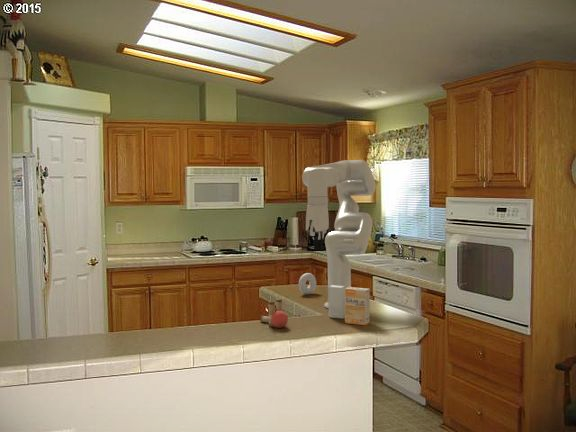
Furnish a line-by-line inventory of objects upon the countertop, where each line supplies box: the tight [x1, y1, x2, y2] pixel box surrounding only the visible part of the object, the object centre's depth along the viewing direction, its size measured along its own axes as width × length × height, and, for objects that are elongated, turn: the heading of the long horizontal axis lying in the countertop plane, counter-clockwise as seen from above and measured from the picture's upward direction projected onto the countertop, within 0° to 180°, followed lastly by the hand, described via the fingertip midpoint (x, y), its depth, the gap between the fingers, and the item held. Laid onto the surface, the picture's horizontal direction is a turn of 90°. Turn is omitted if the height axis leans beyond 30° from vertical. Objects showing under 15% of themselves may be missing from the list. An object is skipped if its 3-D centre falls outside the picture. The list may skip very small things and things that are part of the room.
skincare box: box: [327, 285, 346, 320], centre depth 229 cm, size 6×4×12 cm
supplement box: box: [344, 286, 371, 326], centre depth 219 cm, size 8×5×13 cm, turn 62°
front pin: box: [259, 315, 269, 324], centre depth 222 cm, size 2×2×9 cm
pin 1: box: [267, 300, 276, 327], centre depth 218 cm, size 2×2×9 cm
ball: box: [271, 310, 289, 329], centre depth 215 cm, size 6×6×6 cm
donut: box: [298, 272, 317, 295], centre depth 275 cm, size 10×4×10 cm, turn 130°
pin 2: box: [275, 298, 283, 312], centre depth 222 cm, size 2×2×9 cm
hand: (318, 249), depth 224 cm, fingers closed
